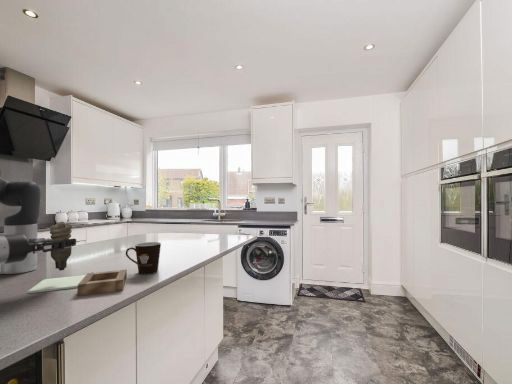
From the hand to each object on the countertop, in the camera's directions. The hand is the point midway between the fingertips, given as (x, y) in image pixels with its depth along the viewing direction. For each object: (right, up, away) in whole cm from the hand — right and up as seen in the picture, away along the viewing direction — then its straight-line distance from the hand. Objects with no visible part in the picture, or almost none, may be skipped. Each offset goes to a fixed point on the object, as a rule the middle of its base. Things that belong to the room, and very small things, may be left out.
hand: (69, 241), depth 83 cm
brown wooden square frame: (+14, -13, -5) cm, 20 cm away
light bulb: (-1, -9, -3) cm, 9 cm away
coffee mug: (+19, -13, +11) cm, 26 cm away
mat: (-1, -13, -3) cm, 13 cm away
